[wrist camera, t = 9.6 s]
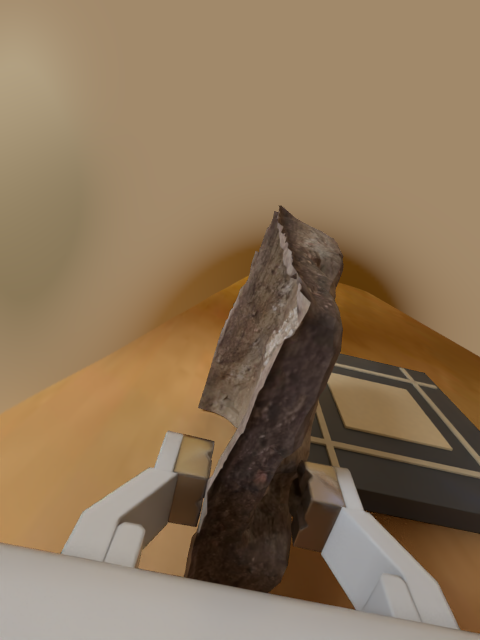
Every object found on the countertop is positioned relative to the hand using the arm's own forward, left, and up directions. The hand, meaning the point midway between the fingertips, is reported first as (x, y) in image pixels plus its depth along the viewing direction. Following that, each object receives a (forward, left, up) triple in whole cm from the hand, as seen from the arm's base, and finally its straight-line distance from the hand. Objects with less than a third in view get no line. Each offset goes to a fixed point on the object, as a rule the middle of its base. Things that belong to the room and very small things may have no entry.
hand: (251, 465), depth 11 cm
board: (+13, +17, -8) cm, 23 cm away
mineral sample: (0, +6, -8) cm, 10 cm away
